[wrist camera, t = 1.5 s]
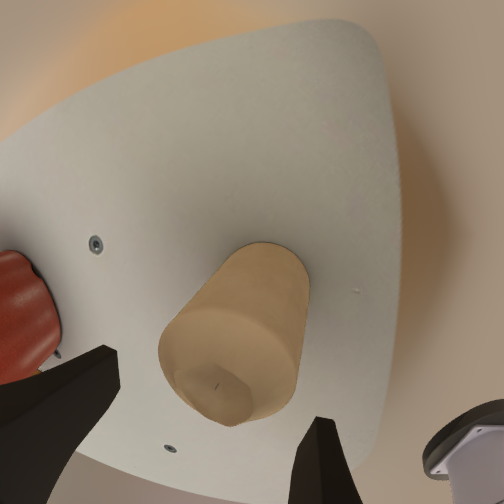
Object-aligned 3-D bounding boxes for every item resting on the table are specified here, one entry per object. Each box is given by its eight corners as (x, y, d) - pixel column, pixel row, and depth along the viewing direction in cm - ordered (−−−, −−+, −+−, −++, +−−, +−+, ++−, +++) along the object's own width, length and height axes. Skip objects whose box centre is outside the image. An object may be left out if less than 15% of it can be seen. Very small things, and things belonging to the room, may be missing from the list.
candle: (205, 278, 20) (117, 373, 10) (267, 222, 18) (202, 299, 8) (263, 337, 20) (217, 457, 11) (329, 290, 18) (325, 416, 9)
